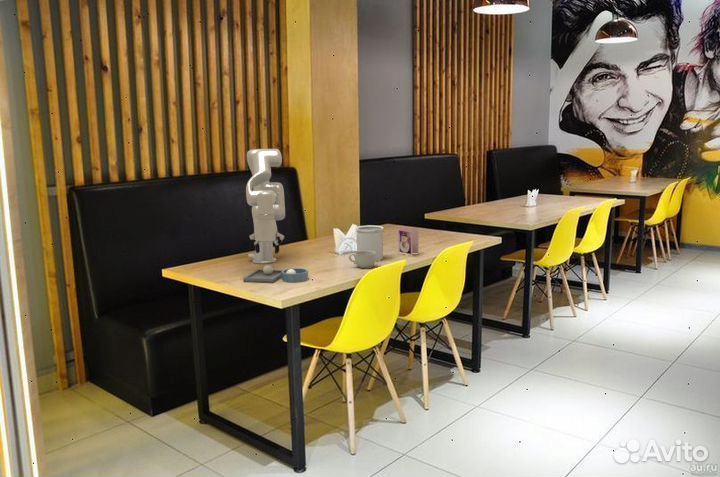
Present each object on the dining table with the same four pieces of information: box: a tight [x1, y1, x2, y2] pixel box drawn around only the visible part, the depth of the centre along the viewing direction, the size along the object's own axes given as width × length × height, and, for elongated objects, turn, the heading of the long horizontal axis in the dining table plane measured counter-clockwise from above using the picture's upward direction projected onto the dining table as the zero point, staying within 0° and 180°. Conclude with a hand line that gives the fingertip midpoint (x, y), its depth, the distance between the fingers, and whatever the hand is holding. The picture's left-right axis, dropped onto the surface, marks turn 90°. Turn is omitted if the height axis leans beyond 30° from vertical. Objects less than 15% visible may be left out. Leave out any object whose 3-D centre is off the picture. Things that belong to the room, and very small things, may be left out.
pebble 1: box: [262, 264, 274, 275], centre depth 310 cm, size 5×5×5 cm
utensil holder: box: [355, 224, 385, 262], centre depth 345 cm, size 15×15×18 cm
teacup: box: [348, 250, 376, 269], centre depth 327 cm, size 14×11×8 cm
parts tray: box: [242, 268, 284, 284], centre depth 306 cm, size 15×18×2 cm
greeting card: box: [397, 227, 419, 256], centre depth 357 cm, size 11×7×15 cm, turn 39°
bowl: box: [281, 267, 309, 283], centre depth 303 cm, size 12×12×4 cm
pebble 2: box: [286, 268, 296, 274], centre depth 301 cm, size 5×5×5 cm
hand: (267, 252), depth 308 cm, fingers open, 9 cm apart
